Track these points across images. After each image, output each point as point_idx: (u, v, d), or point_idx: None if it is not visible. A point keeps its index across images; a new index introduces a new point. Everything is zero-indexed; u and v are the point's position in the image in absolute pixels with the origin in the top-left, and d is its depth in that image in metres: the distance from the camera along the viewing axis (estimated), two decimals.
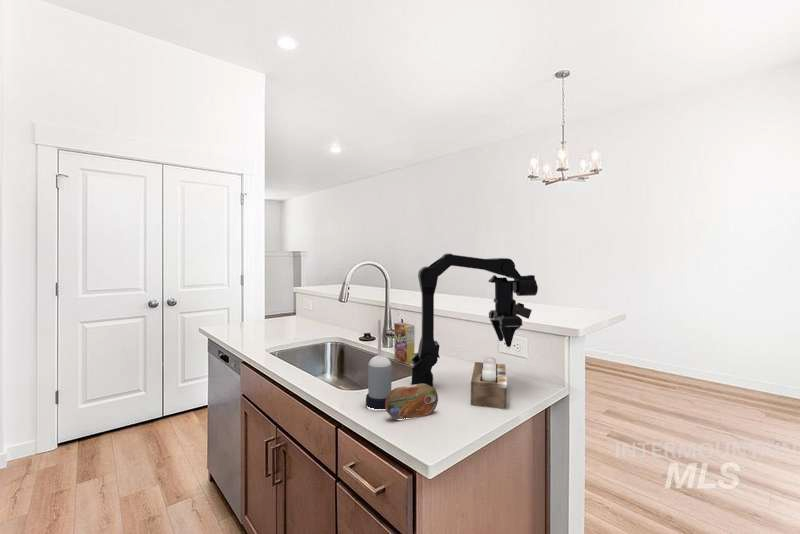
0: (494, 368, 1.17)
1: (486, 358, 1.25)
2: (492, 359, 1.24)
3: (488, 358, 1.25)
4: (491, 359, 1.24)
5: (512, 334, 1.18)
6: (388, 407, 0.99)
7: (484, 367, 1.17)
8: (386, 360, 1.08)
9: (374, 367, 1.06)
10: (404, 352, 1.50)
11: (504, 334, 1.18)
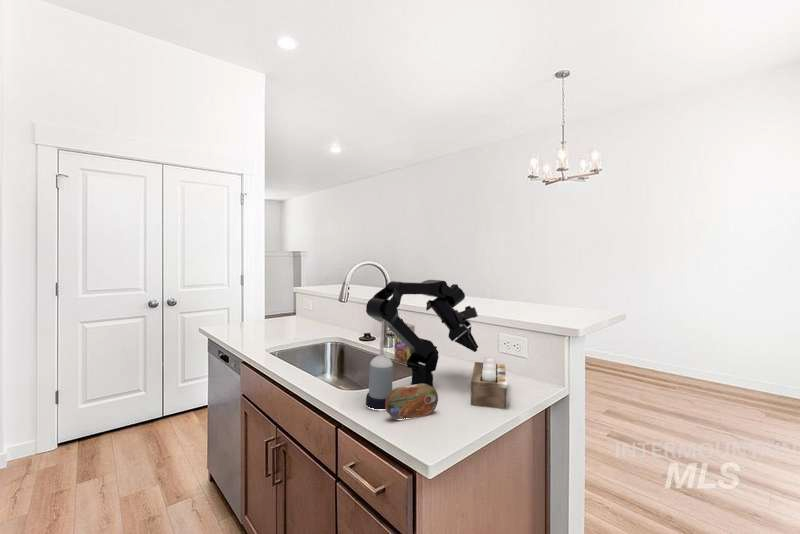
0: (494, 368, 1.17)
1: (486, 358, 1.25)
2: (492, 359, 1.24)
3: (488, 358, 1.25)
4: (491, 359, 1.24)
5: (469, 339, 1.22)
6: (388, 407, 0.99)
7: (484, 367, 1.17)
8: (388, 361, 1.07)
9: (376, 368, 1.06)
10: (404, 352, 1.50)
11: (463, 344, 1.22)
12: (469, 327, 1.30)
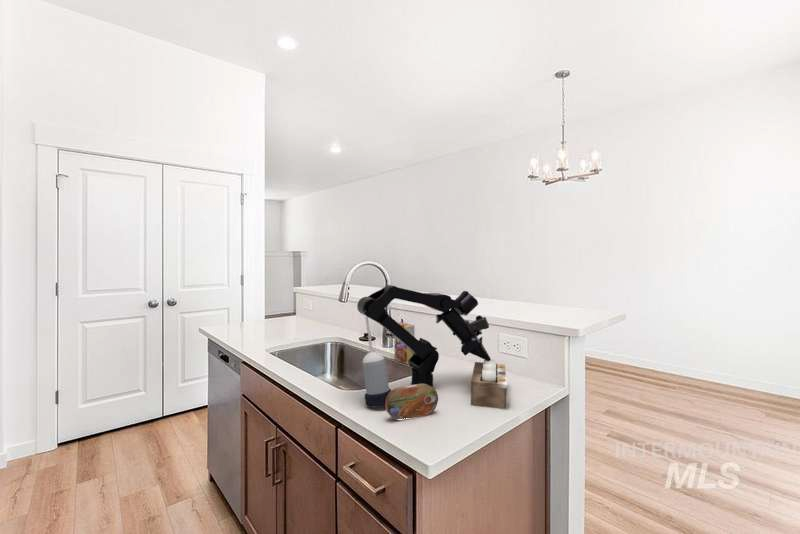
0: (494, 368, 1.17)
1: None
2: (492, 361, 1.24)
3: None
4: (491, 361, 1.24)
5: (482, 350, 1.23)
6: (388, 407, 0.99)
7: (484, 367, 1.17)
8: (378, 355, 1.09)
9: (368, 363, 1.08)
10: (404, 352, 1.50)
11: (476, 354, 1.24)
12: (480, 338, 1.26)
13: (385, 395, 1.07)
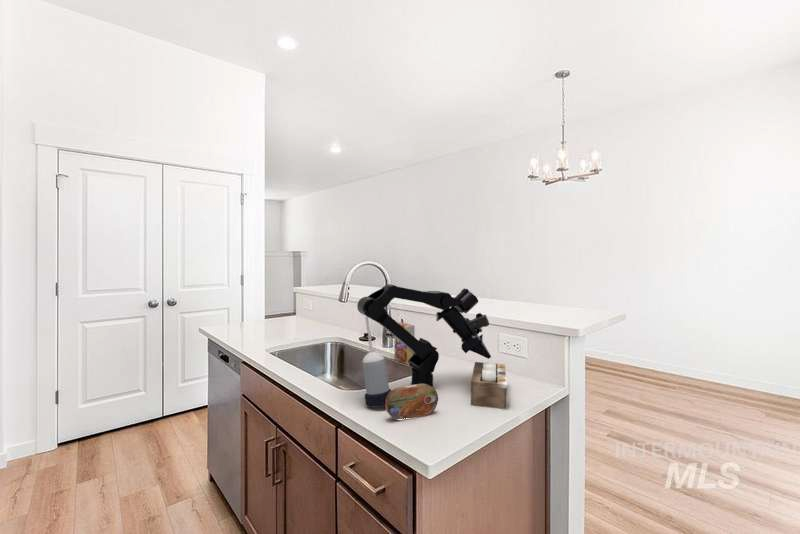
0: (494, 368, 1.17)
1: None
2: None
3: None
4: None
5: (483, 347, 1.23)
6: (388, 407, 0.99)
7: (484, 367, 1.17)
8: (378, 355, 1.09)
9: (368, 363, 1.08)
10: (404, 352, 1.50)
11: (477, 352, 1.24)
12: (480, 336, 1.26)
13: (385, 395, 1.07)
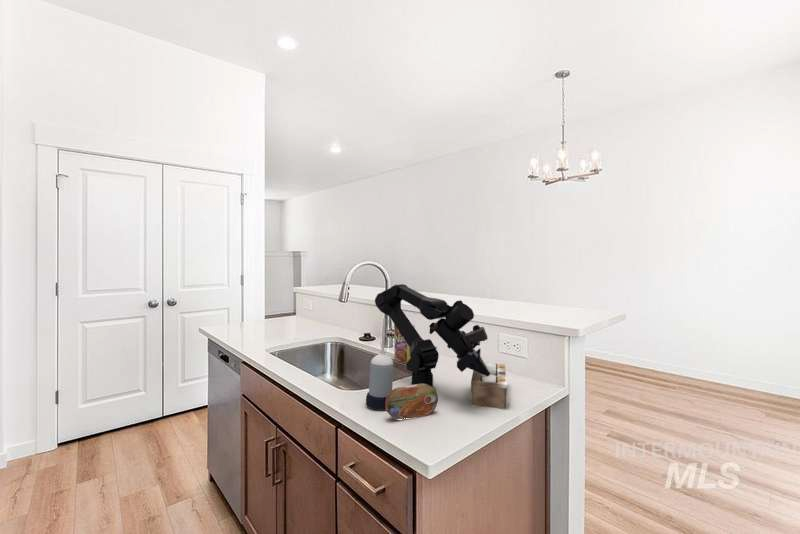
0: (494, 368, 1.17)
1: None
2: None
3: None
4: None
5: (481, 364, 1.11)
6: (388, 407, 0.99)
7: None
8: (387, 359, 1.08)
9: (374, 365, 1.07)
10: (404, 352, 1.50)
11: (474, 369, 1.11)
12: (478, 351, 1.13)
13: (384, 400, 1.06)
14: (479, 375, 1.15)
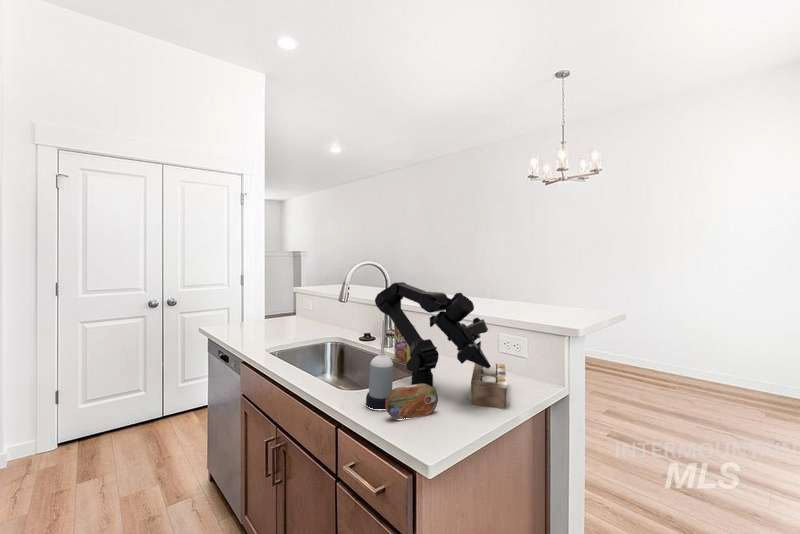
0: (494, 368, 1.17)
1: None
2: None
3: None
4: None
5: (481, 356, 1.11)
6: (388, 407, 0.99)
7: (484, 367, 1.17)
8: (386, 361, 1.07)
9: (373, 366, 1.06)
10: (404, 352, 1.50)
11: (475, 361, 1.11)
12: (478, 343, 1.13)
13: (383, 402, 1.06)
14: (479, 375, 1.15)
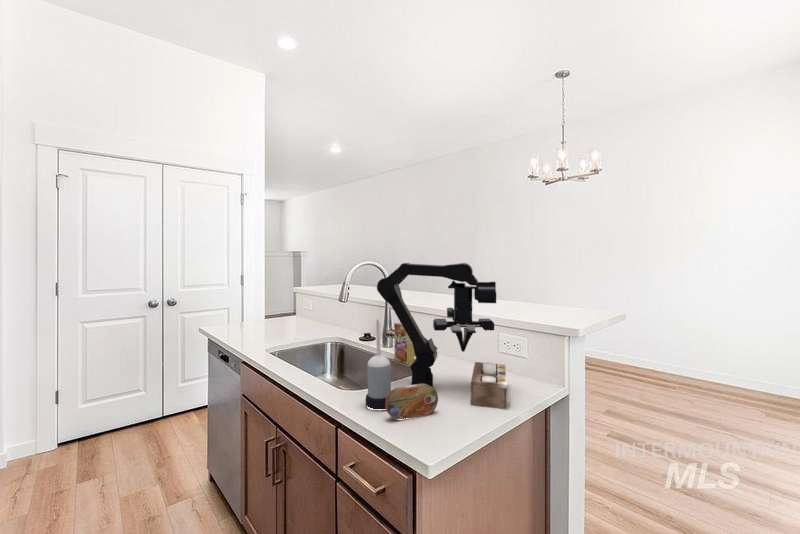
0: (494, 368, 1.17)
1: None
2: None
3: None
4: None
5: None
6: (388, 407, 0.99)
7: (484, 367, 1.17)
8: (382, 360, 1.07)
9: (370, 367, 1.07)
10: (404, 352, 1.50)
11: None
12: None
13: (382, 401, 1.06)
14: (479, 375, 1.15)
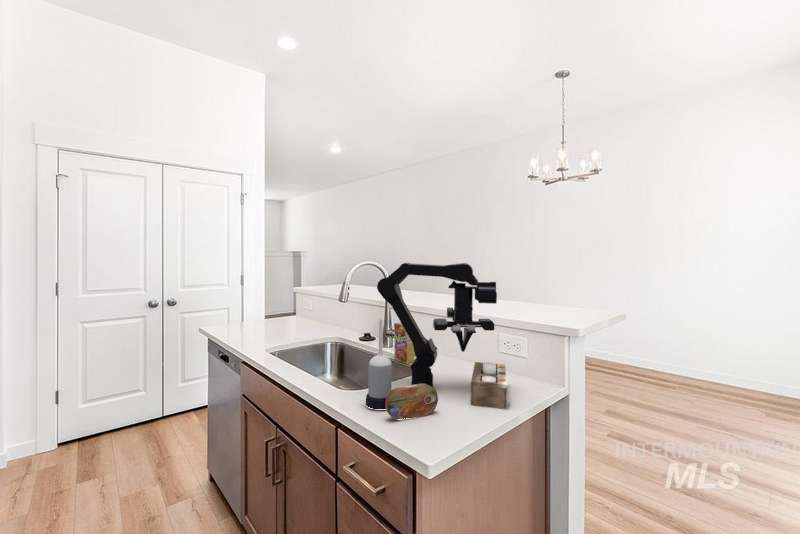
0: (494, 368, 1.17)
1: None
2: None
3: None
4: None
5: None
6: (388, 407, 0.99)
7: (484, 367, 1.17)
8: (384, 360, 1.07)
9: (371, 366, 1.07)
10: (404, 352, 1.50)
11: None
12: None
13: (382, 401, 1.06)
14: (479, 375, 1.15)
